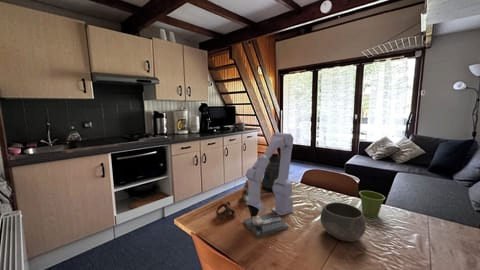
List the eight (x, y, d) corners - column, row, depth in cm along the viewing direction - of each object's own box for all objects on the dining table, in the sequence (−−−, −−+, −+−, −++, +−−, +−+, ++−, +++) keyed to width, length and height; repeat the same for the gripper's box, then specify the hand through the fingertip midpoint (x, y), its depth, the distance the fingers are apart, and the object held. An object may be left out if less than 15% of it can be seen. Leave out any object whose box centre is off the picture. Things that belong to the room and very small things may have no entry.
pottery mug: (236, 222, 103) (228, 211, 101) (220, 228, 105) (212, 217, 103) (237, 206, 114) (230, 195, 112) (223, 212, 116) (216, 201, 114)
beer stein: (256, 188, 147) (257, 154, 144) (271, 181, 162) (271, 150, 159) (277, 194, 137) (278, 158, 134) (290, 186, 151) (291, 153, 149)
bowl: (365, 254, 80) (367, 224, 78) (316, 240, 89) (318, 212, 87) (363, 231, 95) (365, 205, 94) (322, 221, 104) (323, 197, 103)
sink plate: (271, 215, 110) (271, 207, 110) (288, 228, 98) (288, 220, 97) (243, 222, 103) (243, 214, 102) (257, 237, 90) (257, 229, 90)
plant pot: (361, 218, 107) (362, 198, 106) (355, 208, 118) (356, 189, 117) (387, 222, 104) (389, 200, 102) (378, 211, 115) (380, 191, 114)
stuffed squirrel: (236, 201, 126) (236, 180, 125) (250, 194, 137) (251, 175, 135) (249, 206, 120) (249, 184, 118) (263, 198, 131) (263, 178, 129)
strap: (278, 218, 103) (278, 216, 103) (282, 221, 100) (282, 219, 100) (255, 224, 97) (255, 221, 97) (258, 227, 94) (258, 224, 94)
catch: (257, 221, 101) (257, 215, 100) (263, 227, 96) (263, 220, 95) (252, 222, 99) (252, 216, 99) (258, 228, 94) (258, 222, 94)
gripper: (240, 188, 104) (240, 214, 106) (254, 199, 91) (254, 228, 93) (252, 186, 107) (251, 211, 109) (267, 197, 94) (267, 224, 96)
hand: (253, 219), depth 101 cm, fingers closed
